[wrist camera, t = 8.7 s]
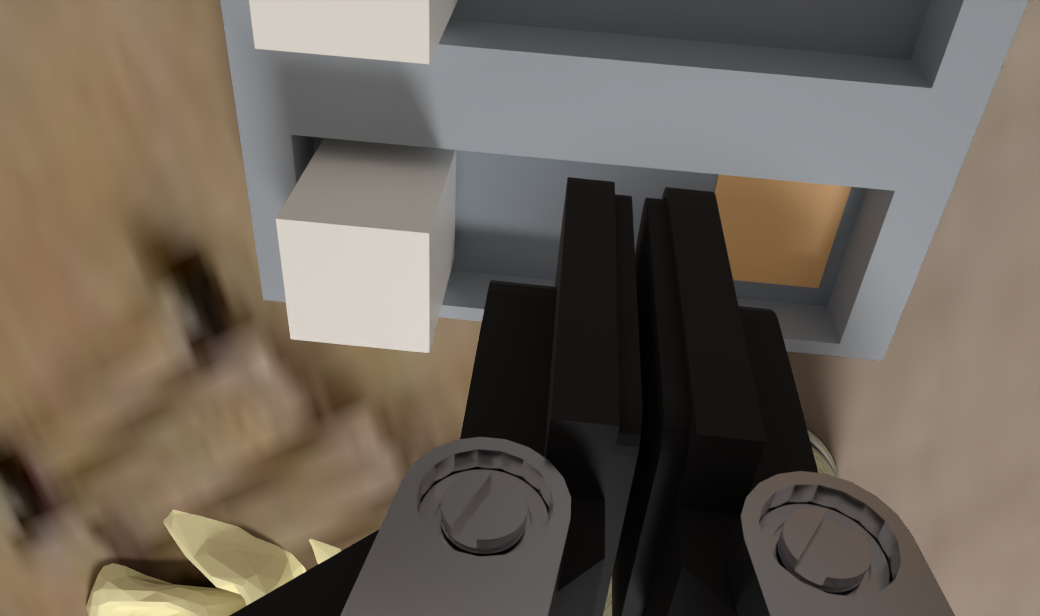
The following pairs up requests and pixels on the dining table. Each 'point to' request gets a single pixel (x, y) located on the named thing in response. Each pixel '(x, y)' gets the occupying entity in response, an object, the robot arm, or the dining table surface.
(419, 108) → the switch board
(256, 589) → the cloth
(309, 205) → the tab
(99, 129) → the dining table surface
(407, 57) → the tab
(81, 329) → the dining table surface
